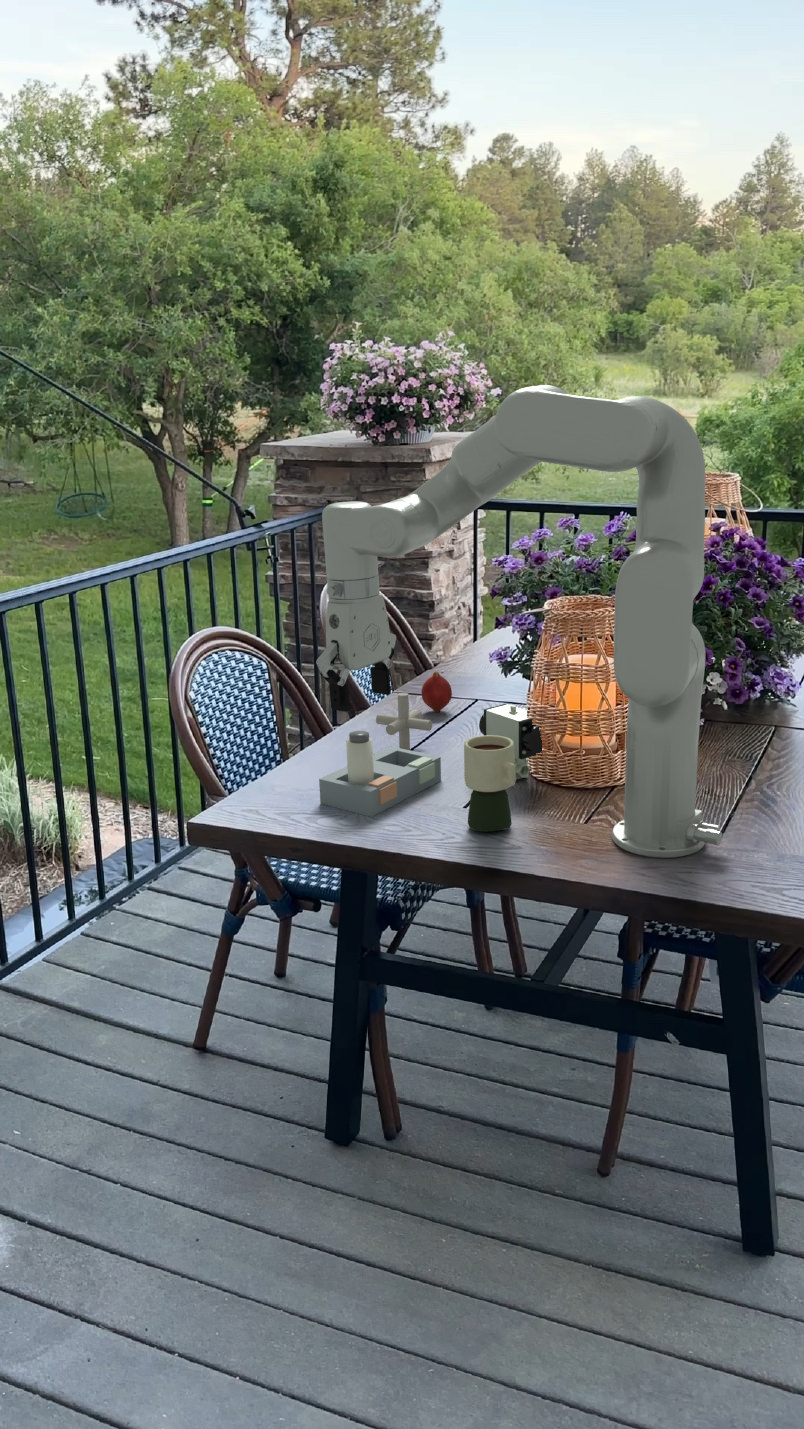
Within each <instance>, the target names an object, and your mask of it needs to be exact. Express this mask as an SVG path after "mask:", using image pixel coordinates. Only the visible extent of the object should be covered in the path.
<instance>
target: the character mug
mask: <svg viewBox="0 0 804 1429" xmlns="http://www.w3.org/2000/svg"><path fill="white" fill-rule="evenodd" d="M463 747H464V749H463V761H464V762H463V764H464V765H463V766H464V768H463V769H464V772H463V773H464V776H463V777H464V782H465V787H467V788H468V789H469V790H472V791H471V794H470V799H469V805H468V813H467V814H468V815H467V817H468V818H467V824H468V827H469V828H470V829H472V830H474V831H475V832H485V833H486V832H498V831H502V830H506V829H509V828H511V826H512V825H513V823H512V813H511V807H510V800H509V799H510V798H509V794H508V792H507V790H508V788H511V787H514V786H515V785H516V781H515V779H516V768H515V765H514V763H515V755H514V742H513V740H511V739H510V738H507V737H503V736H495V735H485V736H484V735H478V736H472V737H471V738H470V737H469V738H468V739H466V740H465V741H464V742H463ZM506 789H507V790H506Z"/></svg>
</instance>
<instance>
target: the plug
mask: <svg viewBox="0 0 804 1429" xmlns="http://www.w3.org/2000/svg"><path fill="white" fill-rule="evenodd" d="M373 740H374V739H373V738H372V737H370V732H369V731H365V730H355V731H352V732H349V734H348V738H346V740H345V742H346V743H345V744H346V745H345V747H346V763H347V764H346V766H347V769H348V783H352V784H356V785H360V786H366V785H368V783H369V782H372V781H374V762H373V754H374V744H373V743H374V742H373Z"/></svg>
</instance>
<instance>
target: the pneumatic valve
mask: <svg viewBox="0 0 804 1429" xmlns="http://www.w3.org/2000/svg"><path fill="white" fill-rule="evenodd" d="M527 711H528V710H527V709H526V708H525V707H524V708H519V707H517V705H514V704H508V703H502V704H498V705H496V706H491V707H488V708H484V709H483V713H482V715H481V717H480V719H479V722H478V726H479V727H478V729H479V731H480V733H481V734H482V736H485V735H495V736H503V737H507V738H510V739H511V740H513V742H514V755H515V763H514V765H515V768H516V779H515V782H516V781H517V780H519V779H523V778H524V779H526V778H528V777H529V773H530V767H529V764H528V763H529V759H528V758H531V757H534V756H537V755H536V753H540V752H541V751H542V740H541V737H540V736H541V734H540V731H539V726H536V725H532V719H530V718H527Z"/></svg>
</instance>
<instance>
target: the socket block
mask: <svg viewBox="0 0 804 1429" xmlns="http://www.w3.org/2000/svg"><path fill="white" fill-rule="evenodd" d="M441 758H442V757H441V756H439V755H438V756H437V755H432V754H428V753H424V752H419V751H414V750H411V749H410V750H406V749H401V748H399V747H396V746H391V745H390V746H388V747H386V748H384V749H382V750H379V751H377V752H376V753H373V762H374V781H372V782H369V783H368V785H366V786H360V785H356V784H352V783H348V769H347V765H346V766H344V767H341V768H340V769H337V770H336V771H334V772H331V773H329V774H327V775H324V776H322V777H319V779H318V782H319V784H318V785H319V786H318V787H319V799H320V800H319V801H320V804H322V805H326V806H329V807H333V808H337V809H340V810H344V811H348V812H352V813H355V814H360V815H363V816H367V817H371V818H372V817H374V816H376V815H378V814H380V813H382V812H384V811H385V810H387V809H389V808H392V807H393V806H395V805H397V804H399V803H400V802H403V801H405V800H406V799H409V798H411V797H412V796H414V795H416V794H418V793H420V792H422V791H424V790H426V789H427V788H430V787H431V786H433V785H435V784H437V783H439V782H441V781H442V770H441V769H442V767H441V766H442V765H441V764H442V763H441V762H442V761H441Z"/></svg>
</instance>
